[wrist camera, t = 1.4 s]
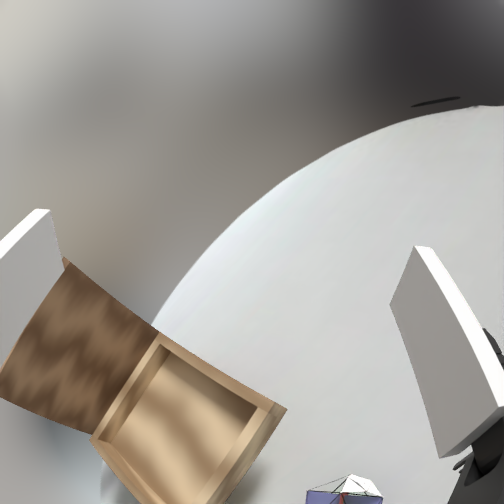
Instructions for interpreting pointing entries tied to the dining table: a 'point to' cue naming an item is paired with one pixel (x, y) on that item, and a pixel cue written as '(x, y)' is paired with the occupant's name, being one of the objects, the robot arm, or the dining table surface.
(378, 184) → the dining table surface
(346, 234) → the dining table surface
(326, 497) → the geometric puzzle
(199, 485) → the bracket
